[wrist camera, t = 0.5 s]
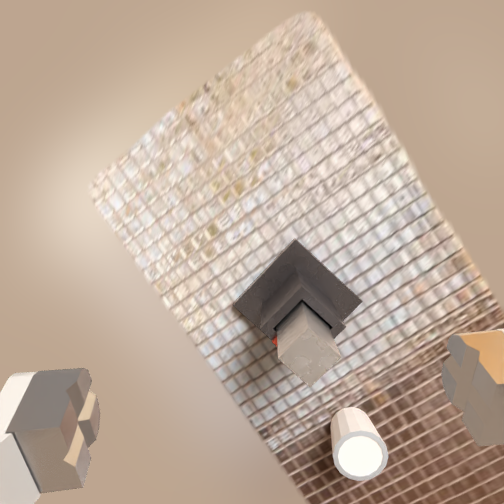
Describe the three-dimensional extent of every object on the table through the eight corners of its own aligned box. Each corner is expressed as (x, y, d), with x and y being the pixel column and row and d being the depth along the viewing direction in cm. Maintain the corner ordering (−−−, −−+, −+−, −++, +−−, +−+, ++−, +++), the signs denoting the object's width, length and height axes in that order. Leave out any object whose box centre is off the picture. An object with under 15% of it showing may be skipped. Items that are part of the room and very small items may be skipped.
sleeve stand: (360, 298, 58) (383, 327, 46) (298, 360, 60) (305, 403, 48) (294, 238, 57) (301, 251, 45) (233, 302, 59) (224, 331, 47)
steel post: (319, 303, 57) (341, 357, 39) (297, 325, 57) (310, 388, 40) (296, 282, 56) (308, 326, 39) (275, 304, 57) (277, 358, 39)
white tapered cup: (336, 454, 62) (345, 488, 55) (318, 413, 61) (324, 442, 54) (382, 438, 61) (396, 470, 54) (364, 395, 60) (376, 423, 53)
